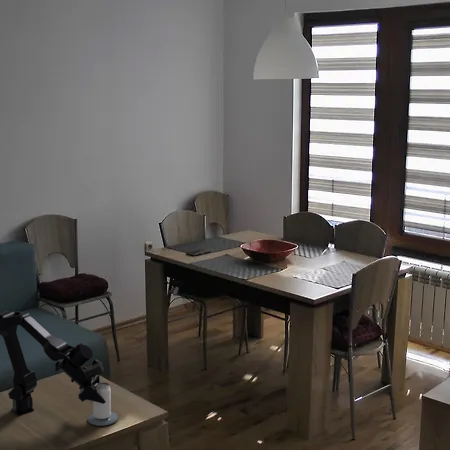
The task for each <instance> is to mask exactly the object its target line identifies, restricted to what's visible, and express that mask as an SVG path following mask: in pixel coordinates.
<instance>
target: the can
mask: <svg viewBox="0 0 450 450" xmlns="http://www.w3.org/2000/svg"><path fill="white" fill-rule="evenodd" d="M94 386H95V387H96V386H97V391H98V393H99V394H100V395H101V396H102V397H103V399H104V400H105V401H106V402H105V403H104V404H102V403H99V402H95V401H92V408H93V409H92V411H93V413H92V414H93V415H94V417H95V418H97V419H106V418H109V417H110V415H111V412H112V400H111V399H112V397H111V396H112V393H111V391H112V390H111V387H110V384H109V383H108V382H104V381H103V382H101V383H97V384H95V385H94Z"/></svg>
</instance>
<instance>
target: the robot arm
mask: <svg viewBox="0 0 450 450" xmlns="http://www.w3.org/2000/svg"><path fill="white" fill-rule="evenodd" d="M18 326H20V327H21V328H22V329H23V330H25V331H26V332H27V333H28V334H29V335H30V336H31V337H32V338H33V339H34V340H35V341H36V342H38V343H39V344H40V346H41V347H42V349H43V352H44V354H45V355H46V356H47V357H48V358H49V360H51V361H53V362H55V364H54V367H55V371H54V372H56V373H57V372H58V371H60V370H61V371H62V372H63V373H64V374H65V375H66V376H68V377H69V378H70V382H71V383H75V384H76V385H77V386H79V387H78V389H79V390H80V391H79V393H78V399H79V401H81V402H82V403H83V402H85V401H91V402H93V401H95V402H99V403H102V404H104V403H105V402H106V401H105V400H104V399H103V397H102V396H101V395H100V394H99V393H98V391H97V386H96V387H95V386H94V385H95V384H97V383H102V382H101V378H100V377H101V375H103V374H104V370H105V368H104V366H103V362H101V360H99V359H97V358H95V359H93V360H92V361H91V364H90V365H89V366H86V365H85V364H86V363H87V362H88V361H89V360H91V359H92V358H93V355H94V354H93V352H94V351H93V350H92V349H91V347H89V346H88V345H85V344H83V343H82V342H79V343H78V344H77V345H75V346H73V345H70V344H68V343H67V342H66V341H65V340H63V339H62V338H59V337H56V336H54V335H52V334H50V333H49V331H47V330H46V329H45V328H44V327H43V326H42V325H41V324H39V323H38V322H37V321H36V319H34V318H33V317H32V315H31V314H30V312H27V311H24V312H23V311H12V310H9V309H8V310H5V311H3V312H0V336H1V337H2V338H3V340H4V344H5V347H6V351H7V354H8V357H9V361H10V363H11V367H12V369H13V378H12V384H13V388H12V389H11V390H10V391H9V392H8V394H7V395H8V398H9V399H10V400H12V408H10V411H12V412H13V413H14V414H16V416H22V415H25V414H28V413H31V412H34V411H35V409H34V407H33V406H34V404H33V397H32V393H34V391H35V389H36V388H37V386H38V381H39V380H38V378H37V377H36V371H34V370H30V369H28V366H27V362H26V360H25V356H24V353H23V351H22V347H21V344H20V341H19V337H18V334H17V331H18ZM59 360H60V361H59Z"/></svg>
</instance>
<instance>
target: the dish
mask: <svg viewBox="0 0 450 450" xmlns="http://www.w3.org/2000/svg"><path fill="white" fill-rule="evenodd" d="M118 419H119V416H118V414H117V412H114V411H111V415H110V417H109V418H106V419H97V418H95V417H94V415H93V413H91V414H89V416H88V417H87V421H88V423H89V424H91V425H93V426H97V427H101V426H102V427H103V426H107V425H108V426H109V425H112V424H114V423H116V422H117V421H118Z"/></svg>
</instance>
